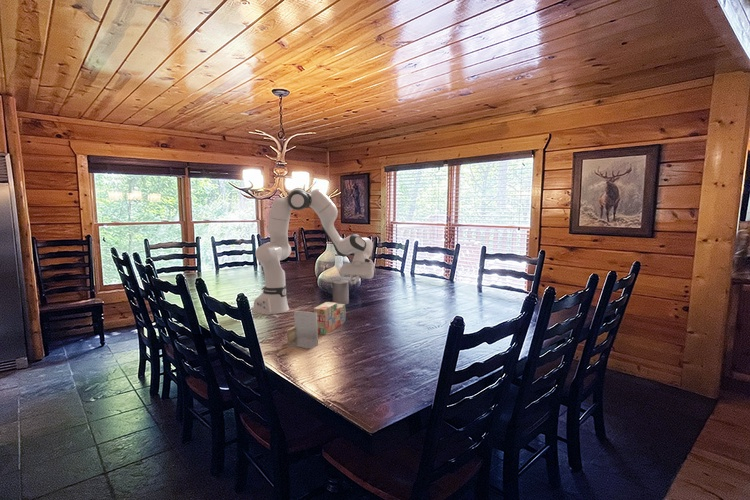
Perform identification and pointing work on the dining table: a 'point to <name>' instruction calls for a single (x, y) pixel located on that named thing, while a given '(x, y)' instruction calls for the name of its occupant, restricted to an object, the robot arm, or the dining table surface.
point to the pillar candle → (340, 292)
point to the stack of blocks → (330, 316)
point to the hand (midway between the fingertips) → (352, 283)
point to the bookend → (305, 330)
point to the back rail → (291, 335)
